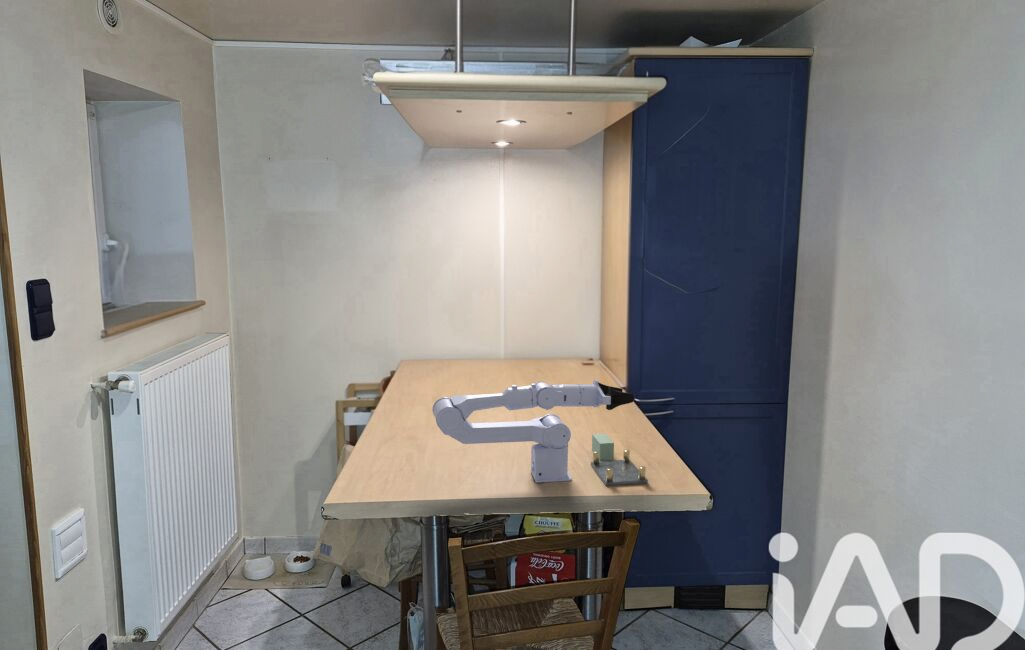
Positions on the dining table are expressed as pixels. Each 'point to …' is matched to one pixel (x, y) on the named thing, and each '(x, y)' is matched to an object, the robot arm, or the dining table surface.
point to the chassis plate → (618, 471)
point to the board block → (603, 446)
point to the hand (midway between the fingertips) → (627, 395)
